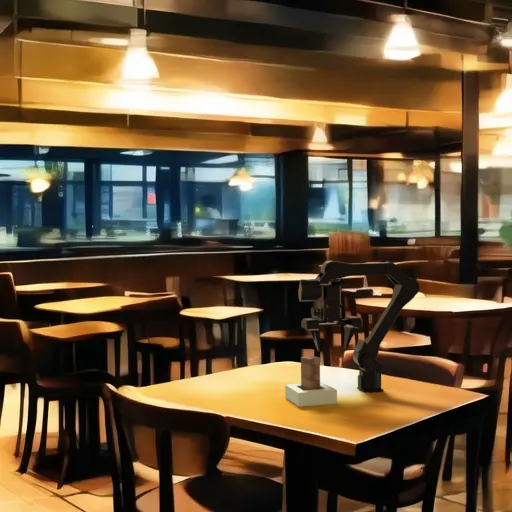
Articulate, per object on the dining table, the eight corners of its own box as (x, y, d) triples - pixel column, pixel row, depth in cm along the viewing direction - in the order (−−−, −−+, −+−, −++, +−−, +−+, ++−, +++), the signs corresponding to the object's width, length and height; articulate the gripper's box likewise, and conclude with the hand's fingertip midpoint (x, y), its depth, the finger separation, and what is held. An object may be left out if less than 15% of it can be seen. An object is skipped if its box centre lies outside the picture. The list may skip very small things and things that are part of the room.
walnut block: (311, 396, 223) (311, 355, 223) (320, 399, 220) (319, 357, 220) (301, 398, 221) (300, 357, 221) (309, 401, 218) (309, 359, 217)
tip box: (322, 394, 228) (322, 381, 228) (337, 403, 217) (336, 390, 216) (285, 397, 225) (285, 384, 225) (298, 406, 213) (298, 393, 213)
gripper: (349, 297, 243) (349, 344, 243) (295, 299, 237) (295, 347, 238) (363, 300, 232) (363, 349, 232) (307, 302, 227) (307, 353, 227)
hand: (332, 349), depth 233 cm, fingers open, 9 cm apart
